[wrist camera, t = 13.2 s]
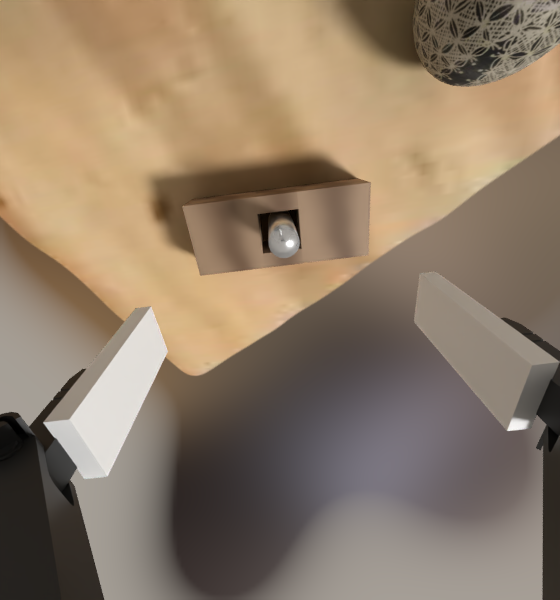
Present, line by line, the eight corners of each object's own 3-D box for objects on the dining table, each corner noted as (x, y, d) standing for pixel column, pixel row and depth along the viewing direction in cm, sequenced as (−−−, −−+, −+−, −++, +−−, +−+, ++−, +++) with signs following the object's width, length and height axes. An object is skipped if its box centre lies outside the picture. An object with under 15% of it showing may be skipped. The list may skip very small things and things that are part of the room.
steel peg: (269, 233, 37) (270, 259, 29) (266, 209, 36) (266, 229, 27) (292, 230, 37) (300, 256, 28) (290, 206, 36) (298, 225, 27)
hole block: (207, 261, 39) (200, 275, 34) (192, 199, 35) (182, 206, 31) (356, 243, 38) (368, 255, 34) (357, 178, 35) (370, 182, 30)
